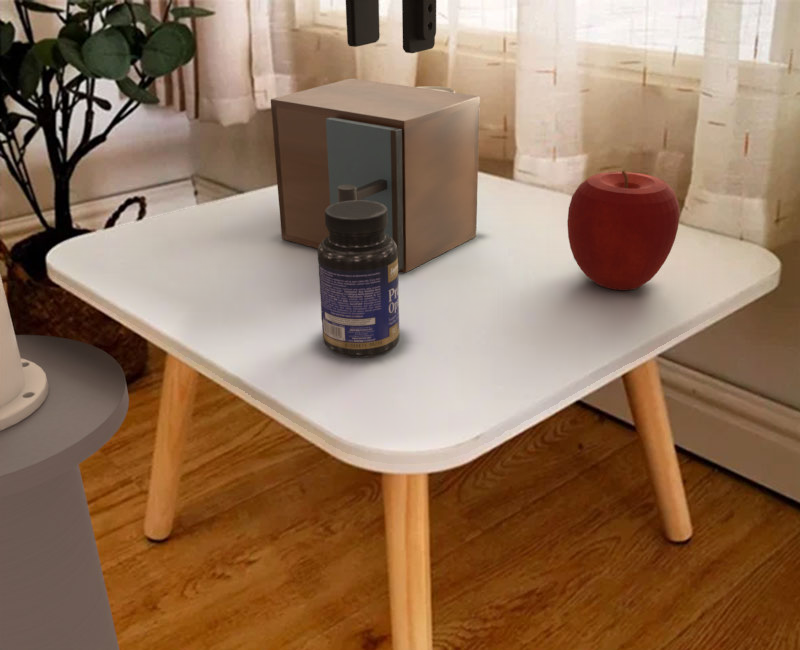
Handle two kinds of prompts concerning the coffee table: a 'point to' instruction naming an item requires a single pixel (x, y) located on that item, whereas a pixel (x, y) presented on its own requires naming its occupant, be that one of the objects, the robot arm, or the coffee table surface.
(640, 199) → the apple
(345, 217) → the pill bottle
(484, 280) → the coffee table surface
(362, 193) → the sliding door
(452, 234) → the cabinet
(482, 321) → the coffee table surface
